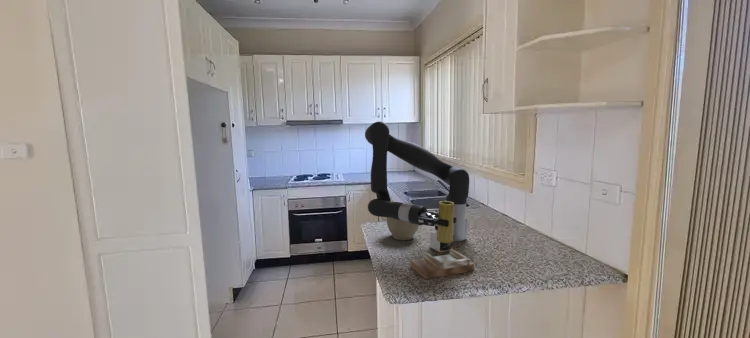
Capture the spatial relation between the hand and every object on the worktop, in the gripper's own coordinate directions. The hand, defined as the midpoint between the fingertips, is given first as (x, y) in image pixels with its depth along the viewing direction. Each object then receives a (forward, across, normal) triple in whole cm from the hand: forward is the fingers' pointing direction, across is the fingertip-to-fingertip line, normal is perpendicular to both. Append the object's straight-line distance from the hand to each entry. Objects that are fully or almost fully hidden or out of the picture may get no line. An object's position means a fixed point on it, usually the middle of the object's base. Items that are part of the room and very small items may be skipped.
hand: (452, 222), depth 121 cm
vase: (-3, 0, +8) cm, 8 cm away
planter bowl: (-33, +18, +18) cm, 42 cm away
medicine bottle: (-12, +16, +18) cm, 27 cm away
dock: (-2, -2, +18) cm, 18 cm away
